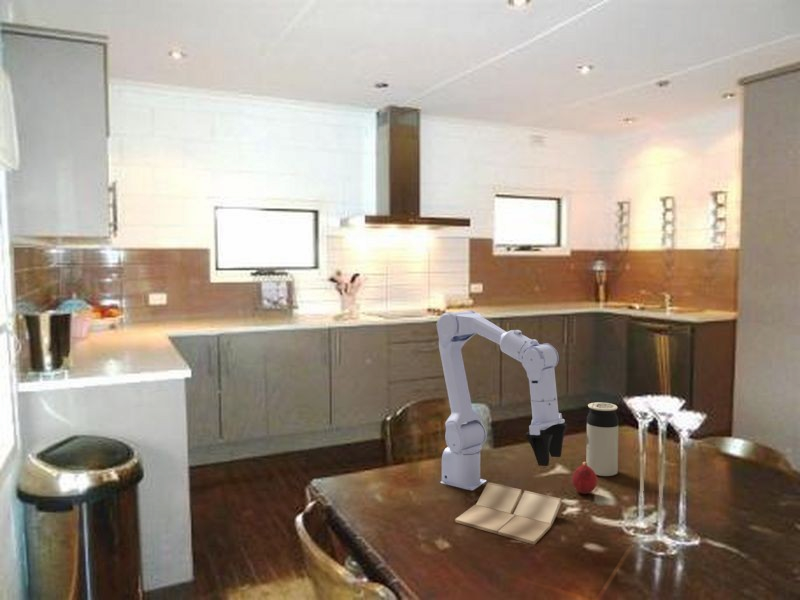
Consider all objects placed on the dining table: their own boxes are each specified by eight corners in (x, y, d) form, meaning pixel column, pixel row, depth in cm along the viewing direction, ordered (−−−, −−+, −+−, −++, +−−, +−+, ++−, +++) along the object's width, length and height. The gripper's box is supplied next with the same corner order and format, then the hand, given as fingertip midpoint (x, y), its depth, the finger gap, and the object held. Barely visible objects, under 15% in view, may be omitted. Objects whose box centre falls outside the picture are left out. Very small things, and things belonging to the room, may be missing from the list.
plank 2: (514, 517, 129) (513, 514, 128) (525, 494, 134) (524, 490, 133) (551, 527, 124) (550, 523, 124) (561, 502, 129) (560, 498, 128)
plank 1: (477, 508, 134) (475, 504, 134) (489, 485, 139) (488, 481, 139) (511, 517, 129) (509, 513, 129) (522, 493, 134) (521, 489, 134)
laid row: (454, 524, 126) (454, 519, 126) (474, 509, 134) (474, 504, 134) (534, 547, 116) (534, 541, 116) (551, 529, 123) (551, 524, 123)
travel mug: (620, 469, 158) (621, 404, 157) (613, 479, 151) (614, 410, 150) (590, 464, 162) (591, 400, 161) (582, 473, 156) (583, 406, 155)
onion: (598, 500, 138) (598, 467, 138) (573, 498, 139) (573, 465, 139) (595, 490, 144) (595, 459, 143) (571, 489, 145) (571, 457, 145)
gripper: (549, 405, 121) (555, 471, 121) (572, 394, 133) (578, 454, 133) (517, 404, 125) (523, 468, 125) (542, 394, 137) (548, 452, 137)
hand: (549, 460), depth 129 cm, fingers open, 7 cm apart
